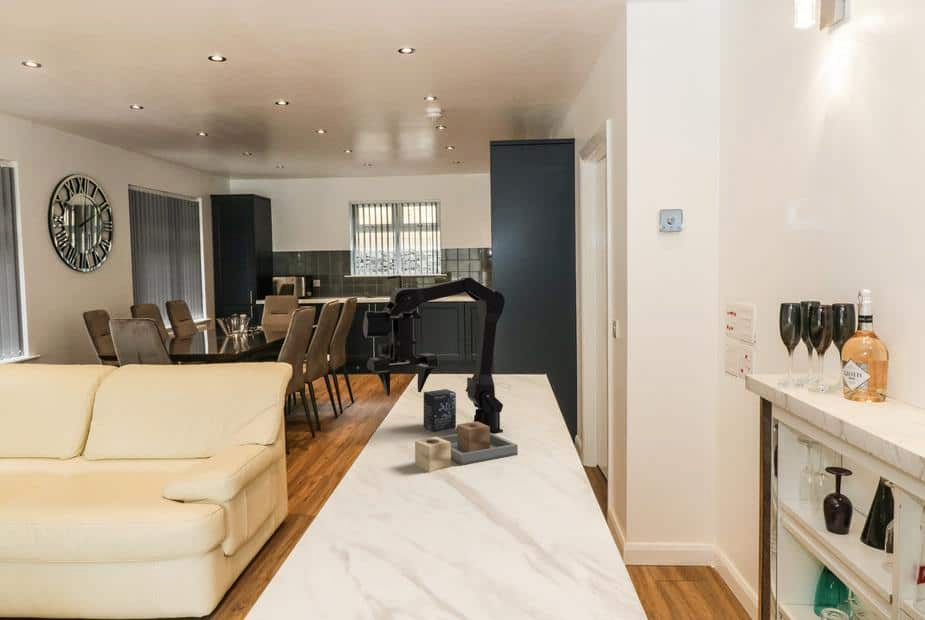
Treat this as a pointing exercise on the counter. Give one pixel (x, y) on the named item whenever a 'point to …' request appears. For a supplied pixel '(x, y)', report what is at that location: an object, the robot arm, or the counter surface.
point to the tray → (496, 450)
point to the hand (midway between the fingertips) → (403, 394)
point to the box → (439, 410)
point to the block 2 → (473, 436)
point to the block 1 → (433, 454)
